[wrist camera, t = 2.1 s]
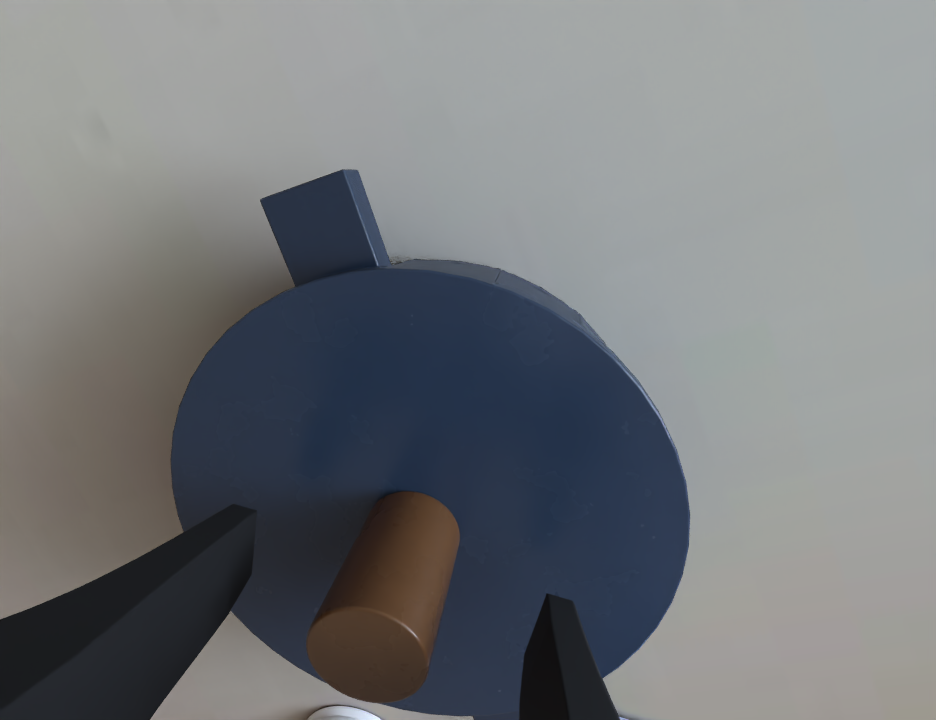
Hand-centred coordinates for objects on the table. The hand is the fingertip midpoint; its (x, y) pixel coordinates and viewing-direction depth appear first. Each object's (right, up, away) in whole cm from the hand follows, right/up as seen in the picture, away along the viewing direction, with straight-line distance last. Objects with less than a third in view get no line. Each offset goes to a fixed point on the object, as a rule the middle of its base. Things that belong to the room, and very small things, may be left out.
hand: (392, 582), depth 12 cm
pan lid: (0, +1, +2) cm, 2 cm away
